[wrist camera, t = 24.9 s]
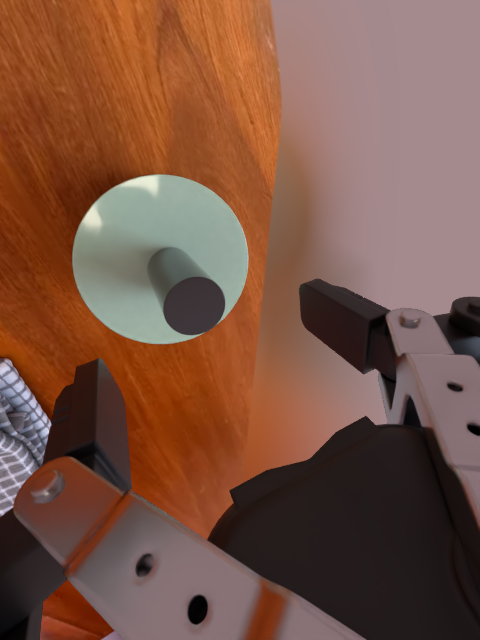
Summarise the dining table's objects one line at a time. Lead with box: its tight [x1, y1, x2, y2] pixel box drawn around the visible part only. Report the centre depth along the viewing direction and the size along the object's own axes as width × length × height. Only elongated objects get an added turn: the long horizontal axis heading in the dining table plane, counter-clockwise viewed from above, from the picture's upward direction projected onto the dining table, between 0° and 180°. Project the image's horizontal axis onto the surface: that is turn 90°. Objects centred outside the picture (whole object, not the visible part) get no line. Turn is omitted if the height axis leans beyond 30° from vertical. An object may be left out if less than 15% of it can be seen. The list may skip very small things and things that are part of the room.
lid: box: [72, 174, 248, 344], centre depth 16 cm, size 11×11×7 cm
